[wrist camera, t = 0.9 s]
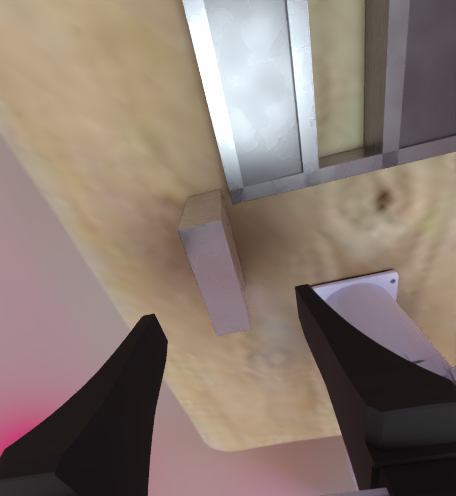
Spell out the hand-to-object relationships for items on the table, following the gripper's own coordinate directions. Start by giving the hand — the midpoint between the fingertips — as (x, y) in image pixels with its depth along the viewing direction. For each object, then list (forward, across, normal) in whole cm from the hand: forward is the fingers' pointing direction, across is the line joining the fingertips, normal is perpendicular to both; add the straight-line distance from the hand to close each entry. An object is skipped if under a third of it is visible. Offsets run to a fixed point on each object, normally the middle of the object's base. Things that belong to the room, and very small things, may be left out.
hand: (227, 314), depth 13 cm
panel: (+10, +1, +1) cm, 10 cm away
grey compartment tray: (+10, -9, -10) cm, 16 cm away
